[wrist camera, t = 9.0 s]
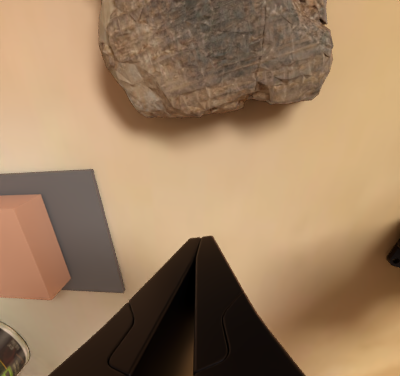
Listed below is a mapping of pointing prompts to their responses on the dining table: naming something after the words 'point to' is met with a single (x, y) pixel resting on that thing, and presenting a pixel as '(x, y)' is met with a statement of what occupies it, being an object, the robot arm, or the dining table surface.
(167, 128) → the dining table surface
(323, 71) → the grey rough flat stone
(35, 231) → the tile
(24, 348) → the coffee can
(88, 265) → the mat
